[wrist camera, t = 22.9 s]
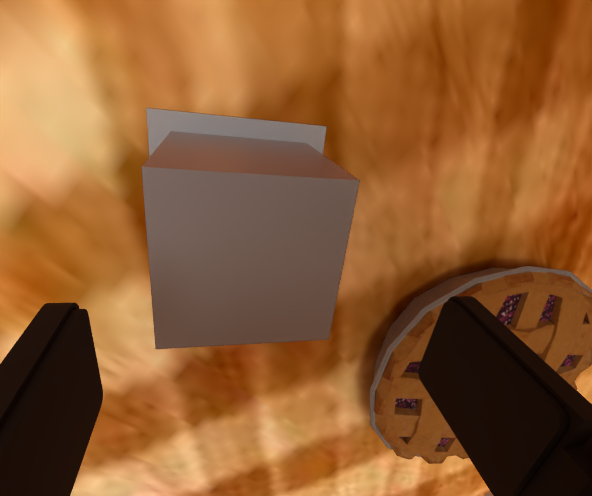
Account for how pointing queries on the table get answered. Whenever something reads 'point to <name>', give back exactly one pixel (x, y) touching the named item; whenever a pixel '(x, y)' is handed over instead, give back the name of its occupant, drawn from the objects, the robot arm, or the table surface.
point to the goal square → (229, 128)
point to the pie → (511, 312)
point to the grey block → (244, 239)
